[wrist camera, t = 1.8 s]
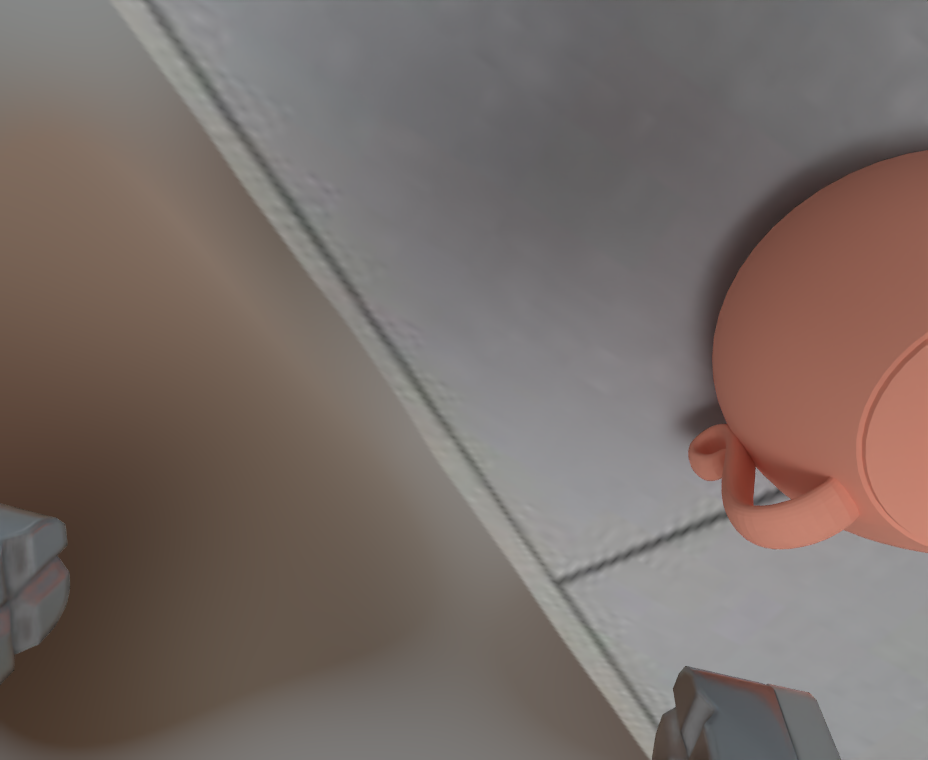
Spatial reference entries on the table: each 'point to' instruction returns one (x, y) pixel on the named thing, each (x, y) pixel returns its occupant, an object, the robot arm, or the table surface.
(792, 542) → the teapot
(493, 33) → the table surface
